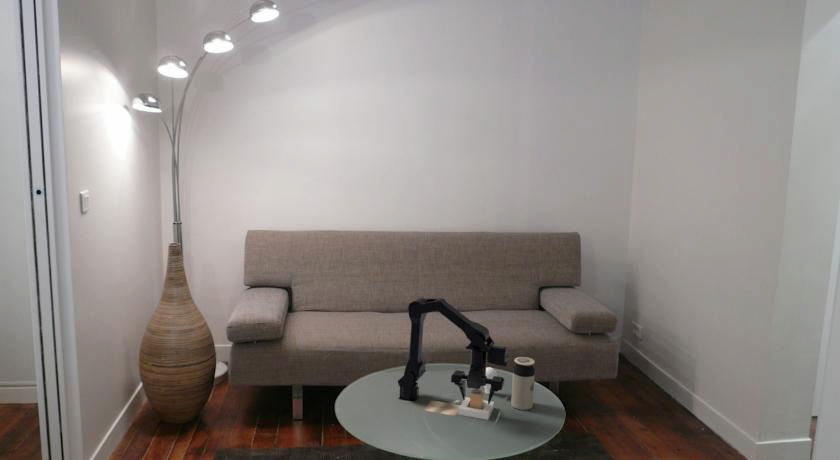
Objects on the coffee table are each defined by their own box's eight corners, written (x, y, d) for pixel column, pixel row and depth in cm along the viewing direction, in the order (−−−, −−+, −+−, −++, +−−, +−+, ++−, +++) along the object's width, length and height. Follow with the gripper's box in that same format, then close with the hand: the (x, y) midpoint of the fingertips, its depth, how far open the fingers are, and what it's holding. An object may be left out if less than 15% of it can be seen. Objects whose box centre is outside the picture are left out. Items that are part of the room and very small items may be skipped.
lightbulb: (495, 398, 233) (496, 371, 231) (479, 396, 234) (480, 370, 232) (496, 392, 239) (497, 365, 237) (481, 390, 240) (482, 364, 238)
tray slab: (424, 411, 220) (424, 410, 220) (431, 401, 229) (431, 400, 229) (455, 417, 217) (455, 416, 216) (461, 406, 225) (461, 405, 225)
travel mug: (507, 405, 227) (509, 360, 225) (518, 399, 233) (521, 355, 230) (524, 412, 222) (527, 366, 219) (536, 405, 228) (539, 360, 225)
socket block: (458, 416, 218) (458, 406, 217) (464, 404, 227) (465, 395, 227) (488, 421, 215) (488, 411, 214) (493, 409, 224) (493, 400, 223)
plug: (469, 411, 219) (470, 392, 218) (472, 406, 223) (473, 387, 222) (480, 413, 218) (481, 393, 217) (482, 408, 222) (483, 389, 221)
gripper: (447, 365, 213) (446, 406, 215) (500, 373, 207) (497, 415, 210) (455, 354, 223) (454, 394, 226) (505, 362, 218) (503, 402, 220)
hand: (476, 401), depth 220 cm, fingers open, 9 cm apart
